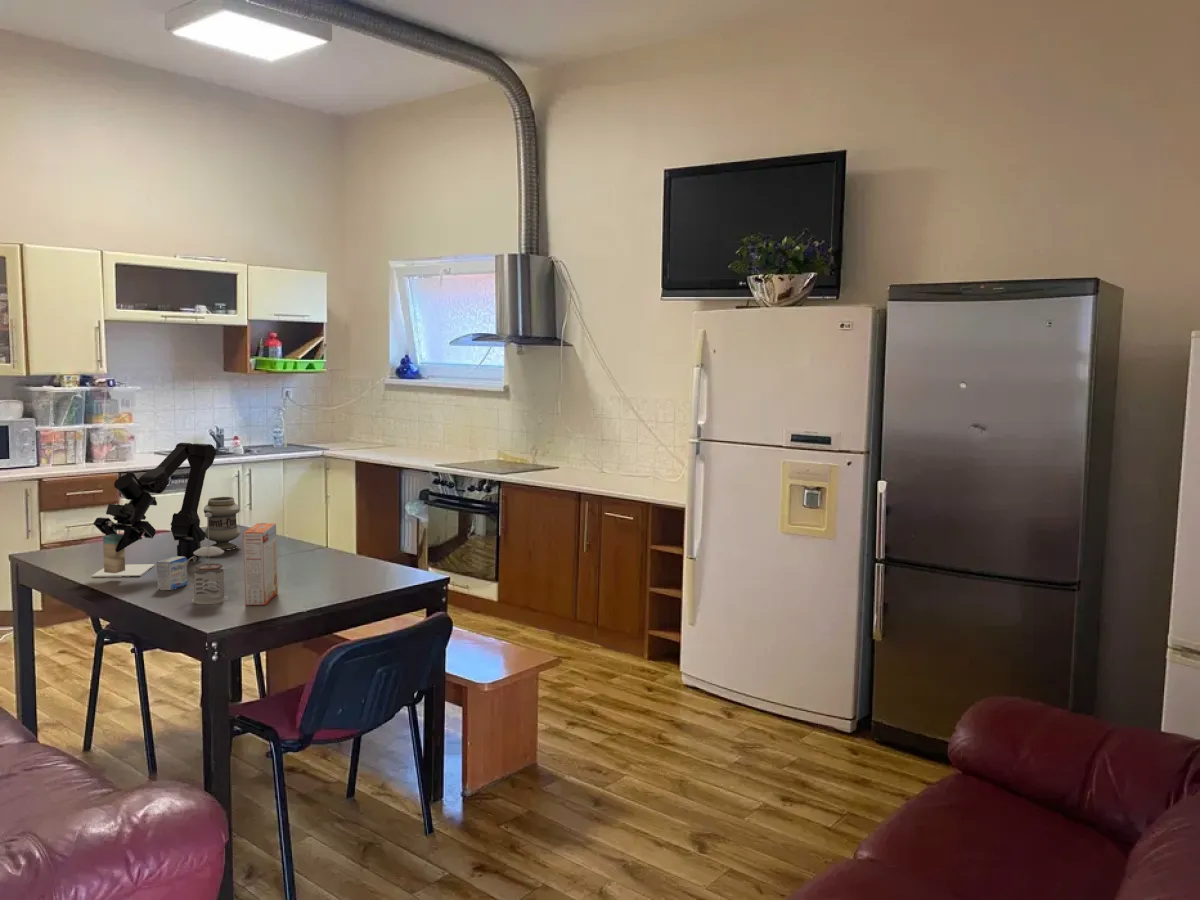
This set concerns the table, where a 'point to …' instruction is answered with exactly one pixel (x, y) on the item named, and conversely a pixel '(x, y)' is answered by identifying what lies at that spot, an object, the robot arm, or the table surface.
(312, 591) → the table surface
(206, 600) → the french press
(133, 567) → the cream square tile
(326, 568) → the table surface
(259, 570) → the cracker box
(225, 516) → the apothecary jar
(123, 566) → the birch block
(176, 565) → the medicine box
